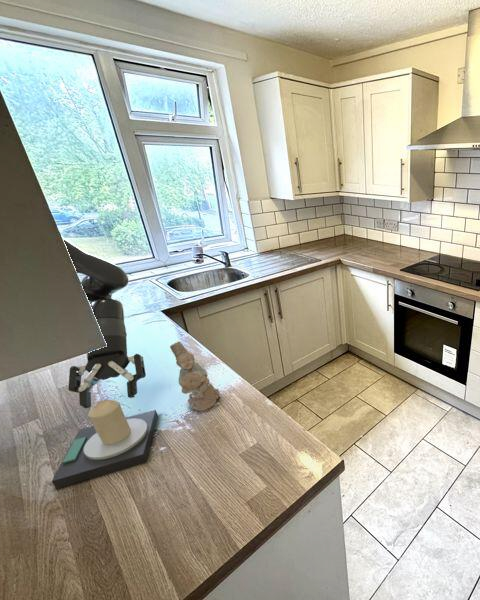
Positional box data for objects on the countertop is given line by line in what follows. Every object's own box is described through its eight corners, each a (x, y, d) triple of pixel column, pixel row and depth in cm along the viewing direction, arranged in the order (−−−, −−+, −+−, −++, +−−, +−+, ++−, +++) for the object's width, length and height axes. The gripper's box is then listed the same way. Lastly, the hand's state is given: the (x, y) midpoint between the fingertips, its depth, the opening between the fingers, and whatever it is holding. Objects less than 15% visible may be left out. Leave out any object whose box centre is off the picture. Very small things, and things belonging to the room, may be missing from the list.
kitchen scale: (55, 489, 70) (49, 478, 69) (83, 436, 83) (78, 426, 82) (146, 461, 76) (142, 451, 75) (158, 416, 89) (154, 407, 88)
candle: (107, 448, 76) (90, 415, 72) (98, 438, 78) (82, 405, 74) (134, 433, 80) (121, 401, 76) (125, 424, 83) (111, 392, 79)
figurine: (186, 399, 96) (167, 340, 88) (218, 388, 100) (202, 331, 92) (188, 417, 89) (167, 355, 81) (222, 405, 93) (206, 345, 85)
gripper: (62, 341, 77) (61, 409, 73) (135, 328, 83) (139, 391, 78) (79, 349, 84) (80, 412, 79) (146, 337, 90) (150, 395, 85)
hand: (109, 402), depth 79 cm, fingers open, 8 cm apart
